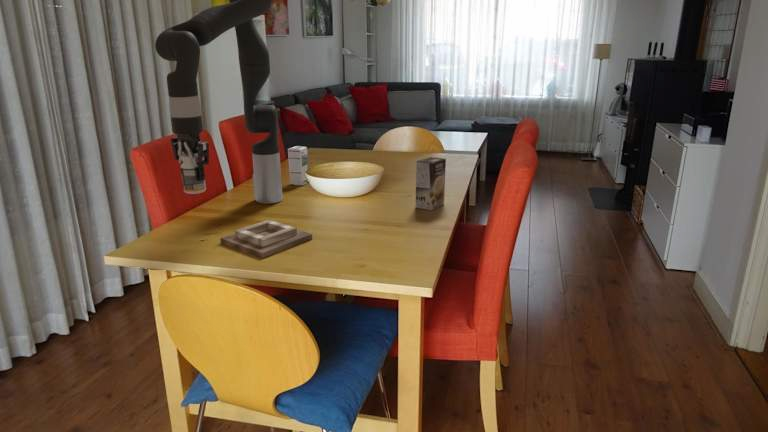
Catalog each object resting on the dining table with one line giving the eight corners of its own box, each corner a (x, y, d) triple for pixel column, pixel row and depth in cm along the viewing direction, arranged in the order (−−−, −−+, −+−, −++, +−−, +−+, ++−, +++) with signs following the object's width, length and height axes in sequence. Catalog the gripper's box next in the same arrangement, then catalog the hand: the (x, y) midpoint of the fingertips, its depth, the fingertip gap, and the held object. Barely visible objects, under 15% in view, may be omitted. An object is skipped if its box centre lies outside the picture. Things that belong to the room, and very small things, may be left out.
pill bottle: (187, 188, 143) (182, 152, 140) (208, 188, 143) (204, 152, 140) (181, 194, 138) (176, 157, 134) (203, 194, 138) (199, 156, 135)
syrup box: (303, 185, 206) (301, 149, 202) (289, 184, 208) (287, 148, 204) (309, 182, 212) (307, 146, 207) (296, 181, 213) (294, 145, 209)
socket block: (220, 243, 148) (219, 231, 147) (270, 226, 161) (270, 215, 160) (262, 258, 137) (261, 245, 136) (312, 238, 150) (311, 227, 149)
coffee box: (431, 211, 175) (432, 163, 170) (414, 207, 178) (415, 161, 173) (444, 204, 182) (446, 158, 177) (428, 201, 186) (429, 156, 180)
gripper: (215, 114, 132) (222, 180, 138) (183, 110, 141) (191, 172, 146) (188, 118, 127) (196, 186, 132) (157, 113, 135) (165, 177, 141)
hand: (193, 178), depth 139 cm, fingers closed on pill bottle, 5 cm apart
